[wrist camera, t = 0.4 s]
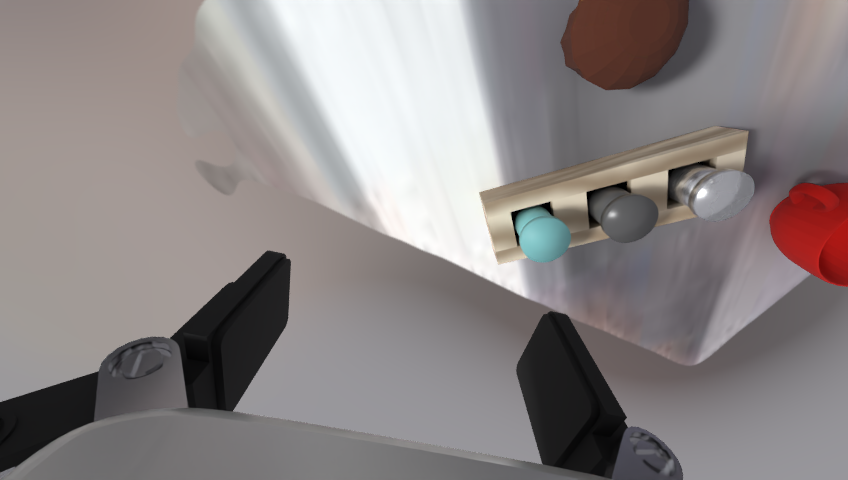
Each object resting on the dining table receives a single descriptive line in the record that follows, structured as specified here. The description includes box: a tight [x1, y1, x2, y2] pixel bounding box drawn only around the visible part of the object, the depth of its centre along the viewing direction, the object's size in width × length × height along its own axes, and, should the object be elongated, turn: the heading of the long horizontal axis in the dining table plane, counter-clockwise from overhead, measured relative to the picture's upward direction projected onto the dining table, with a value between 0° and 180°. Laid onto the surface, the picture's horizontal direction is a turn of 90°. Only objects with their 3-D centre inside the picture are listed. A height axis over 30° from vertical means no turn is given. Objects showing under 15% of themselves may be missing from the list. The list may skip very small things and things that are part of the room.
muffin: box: [561, 0, 689, 90], centre depth 33 cm, size 12×11×10 cm
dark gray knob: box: [587, 185, 659, 243], centre depth 40 cm, size 6×6×6 cm
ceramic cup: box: [769, 183, 848, 287], centre depth 41 cm, size 13×17×10 cm
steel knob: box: [667, 163, 755, 222], centre depth 38 cm, size 6×6×6 cm
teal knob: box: [514, 205, 571, 262], centre depth 41 cm, size 6×6×6 cm
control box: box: [479, 126, 749, 265], centre depth 44 cm, size 10×32×5 cm, turn 107°
